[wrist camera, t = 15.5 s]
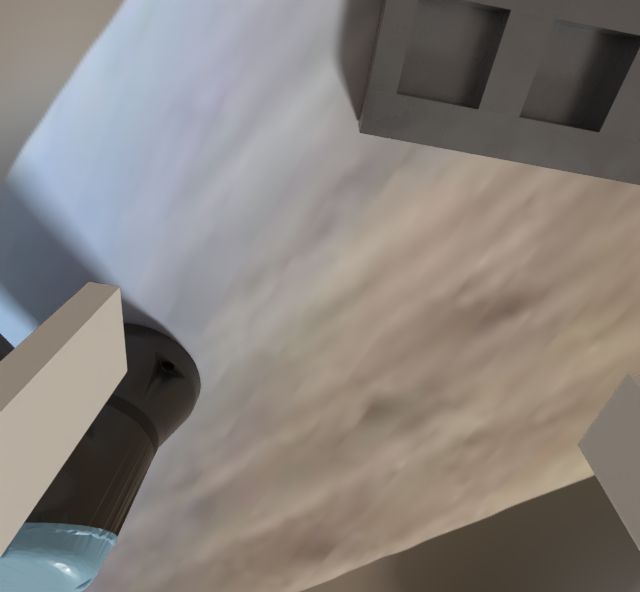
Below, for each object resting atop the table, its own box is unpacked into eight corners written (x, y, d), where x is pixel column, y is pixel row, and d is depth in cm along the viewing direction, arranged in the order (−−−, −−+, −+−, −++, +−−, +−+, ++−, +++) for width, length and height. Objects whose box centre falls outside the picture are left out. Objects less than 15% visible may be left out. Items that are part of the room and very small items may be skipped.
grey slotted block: (358, 124, 35) (359, 132, 31) (395, -61, 29) (401, -76, 25) (681, 184, 36) (717, 199, 32) (783, 18, 30) (840, 14, 26)
